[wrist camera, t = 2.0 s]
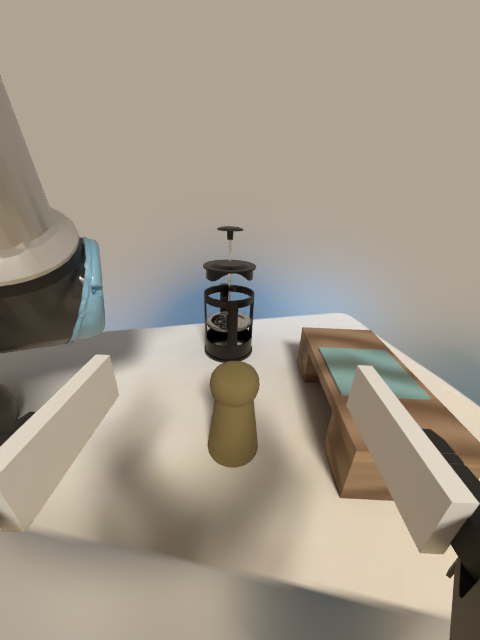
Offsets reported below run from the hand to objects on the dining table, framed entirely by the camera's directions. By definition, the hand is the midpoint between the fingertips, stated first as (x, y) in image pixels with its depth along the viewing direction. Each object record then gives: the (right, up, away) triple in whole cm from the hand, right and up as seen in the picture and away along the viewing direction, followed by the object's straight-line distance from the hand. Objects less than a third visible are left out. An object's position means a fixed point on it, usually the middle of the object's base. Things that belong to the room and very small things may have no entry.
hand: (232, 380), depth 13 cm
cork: (0, -12, +17) cm, 21 cm away
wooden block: (+17, -10, +22) cm, 29 cm away
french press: (-2, -3, +36) cm, 37 cm away
